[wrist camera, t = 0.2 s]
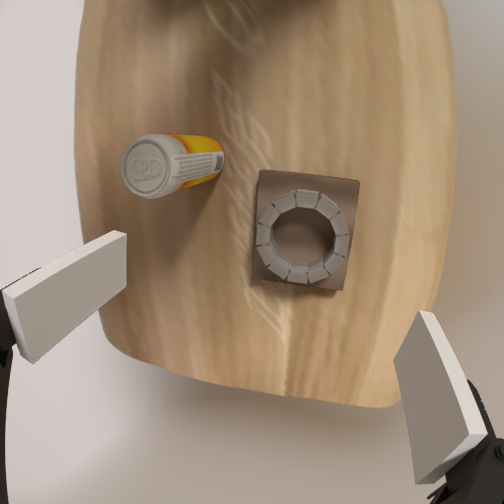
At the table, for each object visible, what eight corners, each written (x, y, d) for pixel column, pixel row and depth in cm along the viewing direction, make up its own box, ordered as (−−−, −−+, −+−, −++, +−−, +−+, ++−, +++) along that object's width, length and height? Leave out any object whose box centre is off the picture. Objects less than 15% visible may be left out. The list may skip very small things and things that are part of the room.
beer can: (184, 136, 38) (117, 136, 24) (226, 136, 37) (174, 132, 23) (183, 179, 40) (118, 199, 26) (225, 181, 39) (173, 202, 25)
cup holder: (263, 169, 37) (253, 173, 32) (357, 180, 35) (363, 185, 30) (256, 270, 42) (247, 288, 37) (341, 282, 40) (343, 301, 35)
